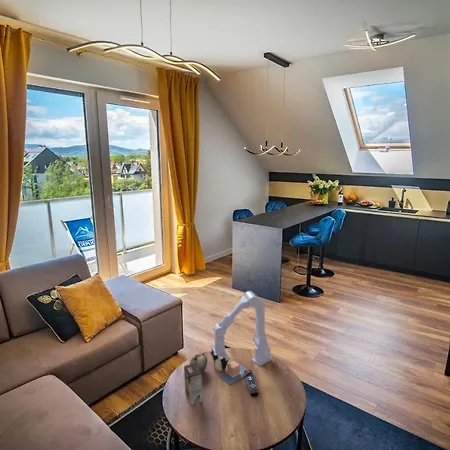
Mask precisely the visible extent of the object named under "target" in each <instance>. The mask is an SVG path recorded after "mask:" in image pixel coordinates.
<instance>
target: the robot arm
mask: <svg viewBox="0 0 450 450" xmlns="http://www.w3.org/2000/svg"><path fill="white" fill-rule="evenodd" d="M250 308H254V309H255V331H254V335H253V338H252V341H253V342H254V357H253V358H251V362H254V363H256V364H257V365H259V366H260V367H261V366H263V365H265V364H267V363H268V362H270V361H272V358H271V347H270V345H269V343H268V338H267V336H266V335H267V334H266V328H265V327H266V325H265V324H266V323H265V321H266V320H265V317H266V316H265V303H263V301H262V300H261V298H259V296H258V295H257V294H256V293H254V292H253V291H251V290H247V291H246V292H245V293H244V294H243V295H241V298H240V300H239V301H238V302H237V304H236V305H235V306H234V308H233V309H232V310H231V312H229V313H226V314H225V315H224V316H223V317H222V319H221V320H220V321H219V322H218V323H216V324H215V325H214V326H213V329H212V330H213V331H214V345H212V346H211V347H210V349H211V351H210V355H211V356H212V360H213V363H214V364H215V360H217V359H219V358H222V359H220V361H221V364H222V369H223V370H222V371H224V370H227V364H228V363H229V361H230V360H231V358H230V356H229V355H228V353H227V352H226V347H225V345H226V341H225V340H226V339H225V335H226V334H227V330H228V329H229V328H230V326H231V325H232V324H233V323H234V322H235V318H236V317H237V316H238V314H240V313H241V312H242V311H243V310H244V309H250Z"/></svg>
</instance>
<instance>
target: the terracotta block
mask: <svg viewBox="0 0 450 450" xmlns="http://www.w3.org/2000/svg"><path fill="white" fill-rule="evenodd" d="M226 371H227V372H228V373H229V374H230V375H232V376H235V375H236V374H238V373H240V365H239V363H238V362H236V361H235V360H232V361H230V362H228V363H227V366H226Z"/></svg>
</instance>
